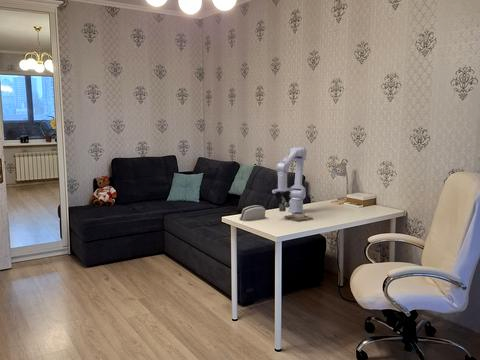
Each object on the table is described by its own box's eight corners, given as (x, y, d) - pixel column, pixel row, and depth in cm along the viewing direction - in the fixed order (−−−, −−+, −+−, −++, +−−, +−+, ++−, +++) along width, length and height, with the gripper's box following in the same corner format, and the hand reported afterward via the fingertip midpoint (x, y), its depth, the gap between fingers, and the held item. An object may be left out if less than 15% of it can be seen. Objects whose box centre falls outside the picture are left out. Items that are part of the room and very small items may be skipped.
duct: (284, 217, 273) (284, 212, 273) (299, 215, 279) (299, 210, 279) (297, 221, 262) (297, 216, 261) (313, 219, 268) (313, 213, 267)
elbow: (278, 210, 269) (278, 197, 268) (283, 209, 271) (283, 196, 270) (285, 212, 262) (285, 199, 261) (290, 212, 264) (290, 198, 263)
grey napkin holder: (261, 216, 278) (263, 203, 274) (264, 220, 274) (267, 206, 270) (238, 219, 270) (241, 205, 266) (242, 223, 266) (244, 209, 262)
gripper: (276, 183, 259) (276, 205, 260) (295, 181, 266) (295, 203, 268) (270, 182, 265) (270, 203, 266) (288, 180, 272) (288, 201, 274)
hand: (282, 203), depth 267 cm, fingers closed on elbow, 4 cm apart
